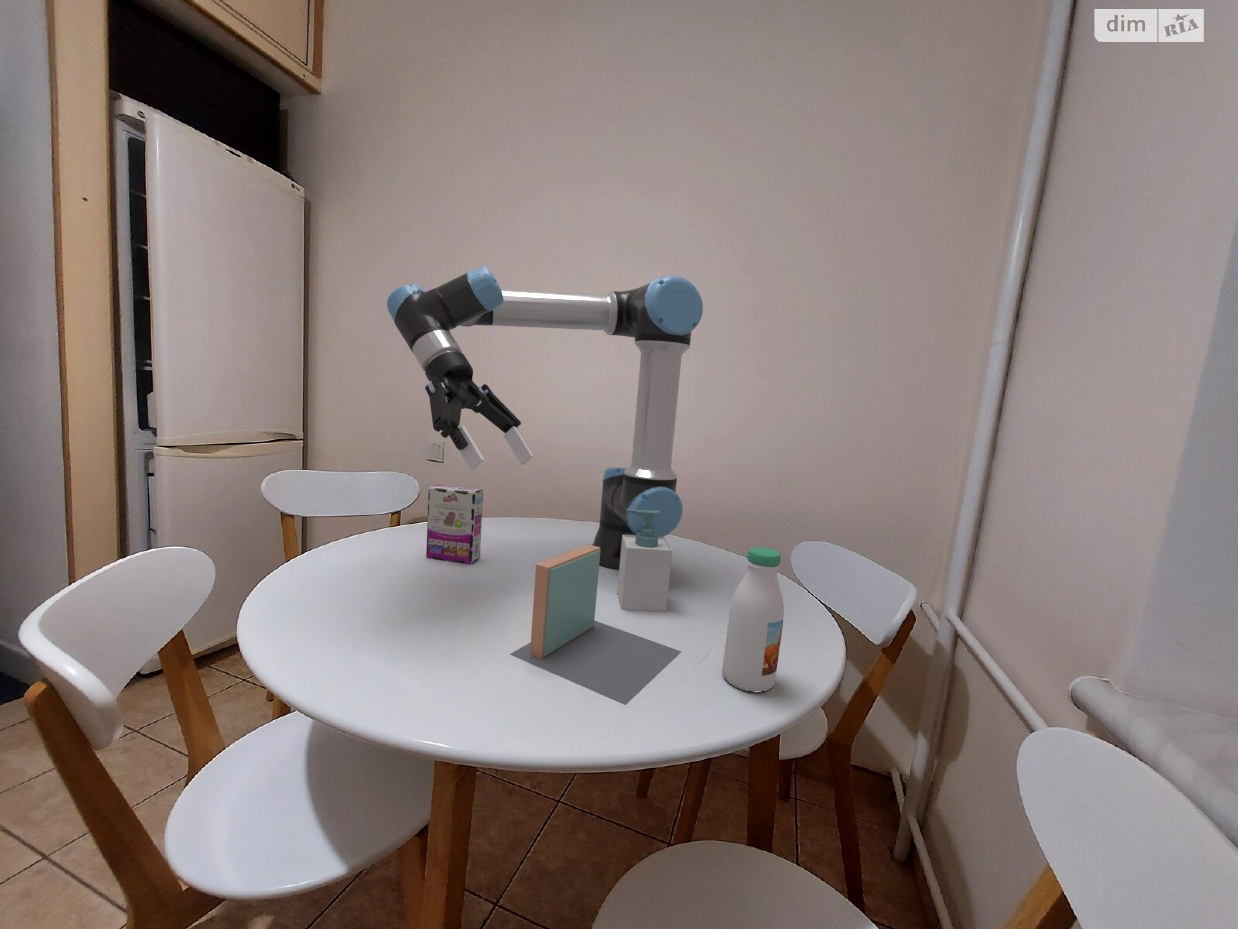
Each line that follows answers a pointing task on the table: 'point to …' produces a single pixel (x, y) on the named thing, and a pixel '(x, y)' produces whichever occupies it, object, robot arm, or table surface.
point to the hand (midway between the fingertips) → (504, 462)
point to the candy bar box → (454, 523)
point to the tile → (564, 599)
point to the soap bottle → (644, 568)
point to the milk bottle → (755, 624)
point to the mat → (605, 661)
